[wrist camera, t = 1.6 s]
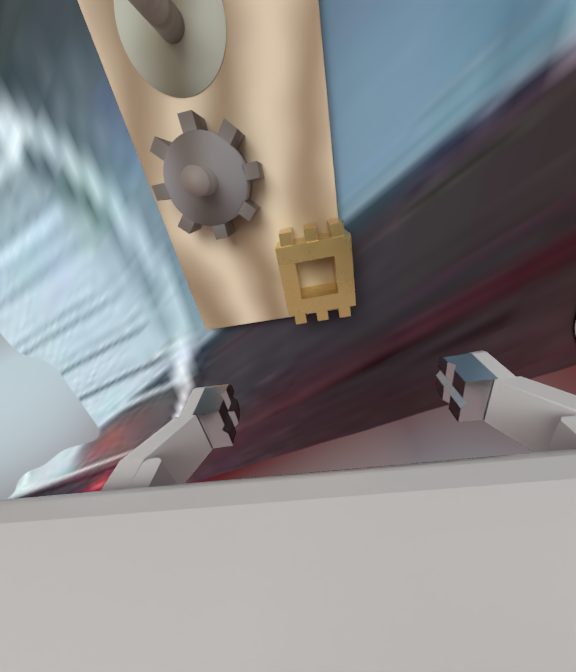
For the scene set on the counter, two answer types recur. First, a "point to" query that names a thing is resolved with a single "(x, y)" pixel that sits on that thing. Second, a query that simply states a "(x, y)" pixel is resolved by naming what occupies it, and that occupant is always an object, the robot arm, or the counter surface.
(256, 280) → the gear board
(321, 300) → the toothed rectangular frame
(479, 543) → the robot arm
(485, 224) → the counter surface
